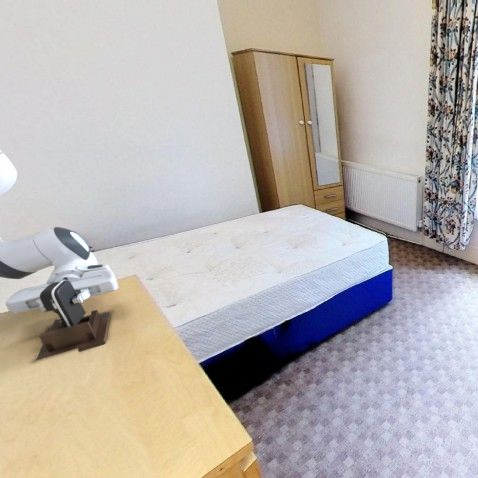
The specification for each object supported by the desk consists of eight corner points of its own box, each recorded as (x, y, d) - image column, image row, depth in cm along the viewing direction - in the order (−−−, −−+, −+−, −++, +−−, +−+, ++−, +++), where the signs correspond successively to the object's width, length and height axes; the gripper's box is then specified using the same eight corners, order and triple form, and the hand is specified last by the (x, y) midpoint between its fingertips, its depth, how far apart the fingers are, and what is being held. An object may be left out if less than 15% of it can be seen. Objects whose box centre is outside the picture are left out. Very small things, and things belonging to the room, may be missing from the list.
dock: (38, 363, 77) (26, 343, 74) (52, 330, 88) (42, 311, 85) (105, 343, 84) (96, 324, 81) (111, 314, 95) (103, 297, 92)
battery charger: (68, 316, 86) (49, 280, 81) (87, 313, 88) (69, 277, 83) (54, 332, 80) (33, 294, 76) (75, 328, 82) (55, 291, 77)
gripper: (10, 283, 84) (-10, 309, 74) (114, 262, 95) (110, 282, 85) (21, 303, 86) (4, 331, 76) (122, 280, 98) (118, 302, 88)
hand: (61, 305), depth 81 cm, fingers closed on battery charger, 4 cm apart
